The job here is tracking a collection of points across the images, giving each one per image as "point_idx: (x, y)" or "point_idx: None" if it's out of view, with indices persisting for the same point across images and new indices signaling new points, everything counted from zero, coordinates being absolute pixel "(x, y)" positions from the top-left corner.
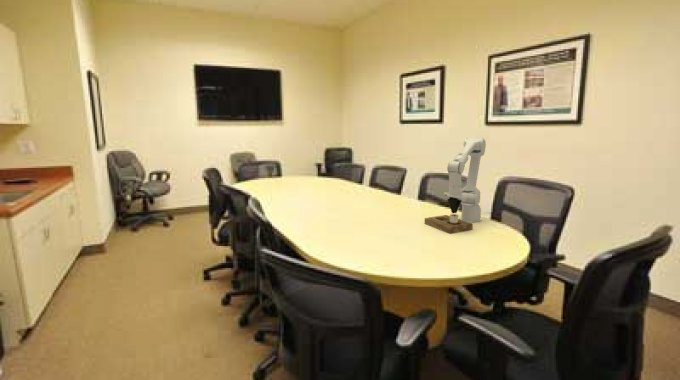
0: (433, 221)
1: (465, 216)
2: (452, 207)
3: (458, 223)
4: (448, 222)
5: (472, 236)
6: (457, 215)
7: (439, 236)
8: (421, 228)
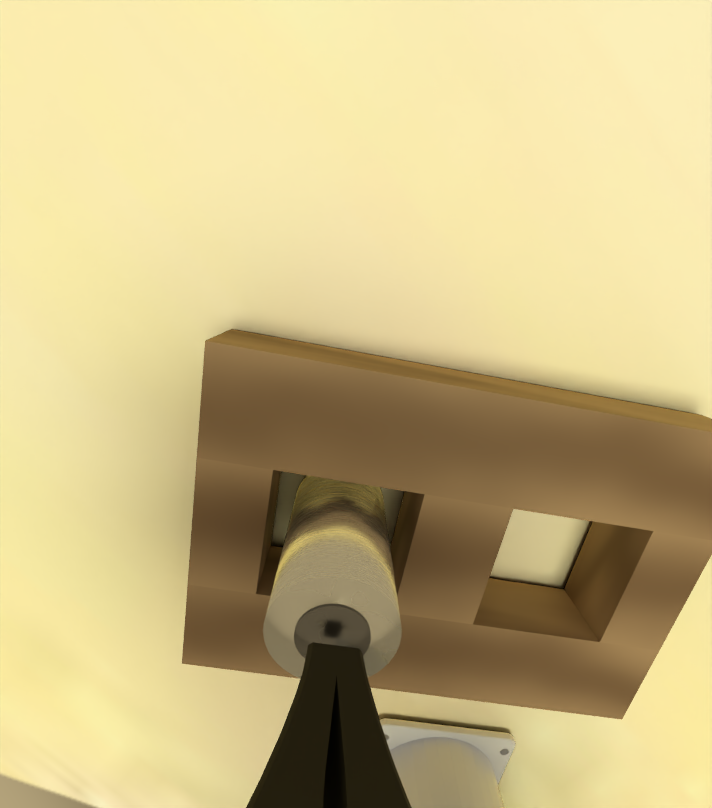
0: (573, 406)
1: (433, 795)
2: (309, 766)
3: None
4: (413, 529)
5: (40, 450)
6: (285, 656)
7: (228, 137)
8: (622, 233)
